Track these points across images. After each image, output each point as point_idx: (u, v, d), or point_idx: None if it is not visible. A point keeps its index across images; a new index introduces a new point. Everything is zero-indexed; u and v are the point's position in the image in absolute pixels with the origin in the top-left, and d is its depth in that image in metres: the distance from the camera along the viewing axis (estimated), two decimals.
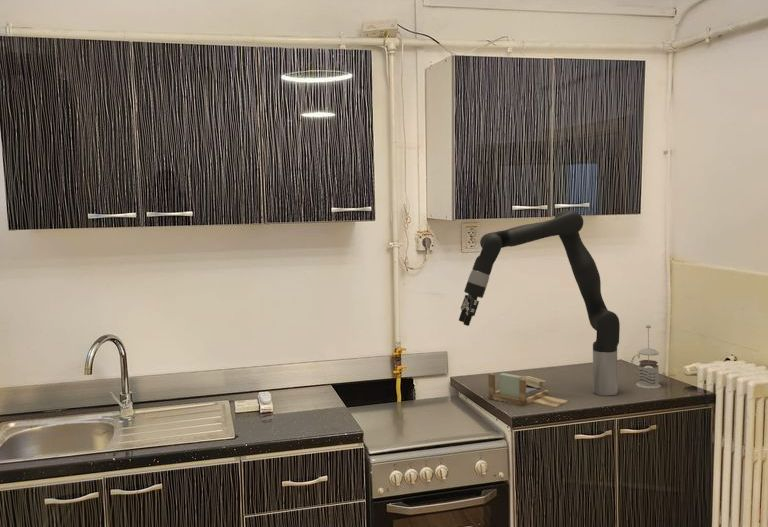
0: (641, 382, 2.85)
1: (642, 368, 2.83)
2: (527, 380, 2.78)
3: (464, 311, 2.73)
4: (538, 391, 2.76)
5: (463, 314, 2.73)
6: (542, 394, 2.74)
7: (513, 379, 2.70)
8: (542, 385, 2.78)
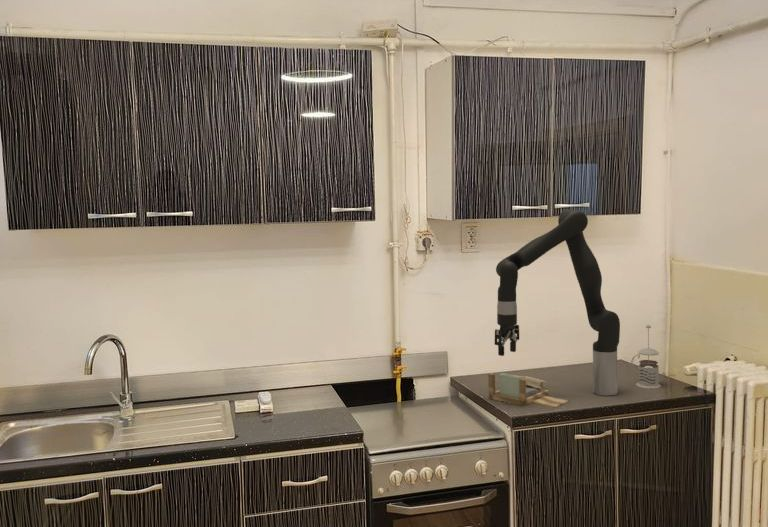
0: (641, 382, 2.85)
1: (642, 368, 2.83)
2: (528, 380, 2.78)
3: (512, 341, 2.74)
4: (537, 391, 2.76)
5: (512, 344, 2.74)
6: (542, 394, 2.74)
7: (513, 379, 2.70)
8: (542, 385, 2.79)
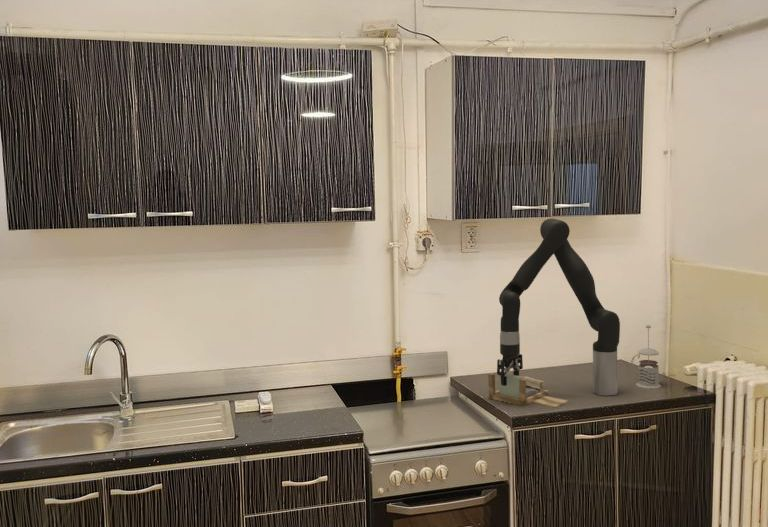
0: (641, 382, 2.85)
1: (642, 368, 2.83)
2: (527, 380, 2.78)
3: (515, 370, 2.74)
4: (537, 391, 2.75)
5: (515, 374, 2.75)
6: (542, 394, 2.74)
7: (513, 379, 2.70)
8: (542, 385, 2.79)
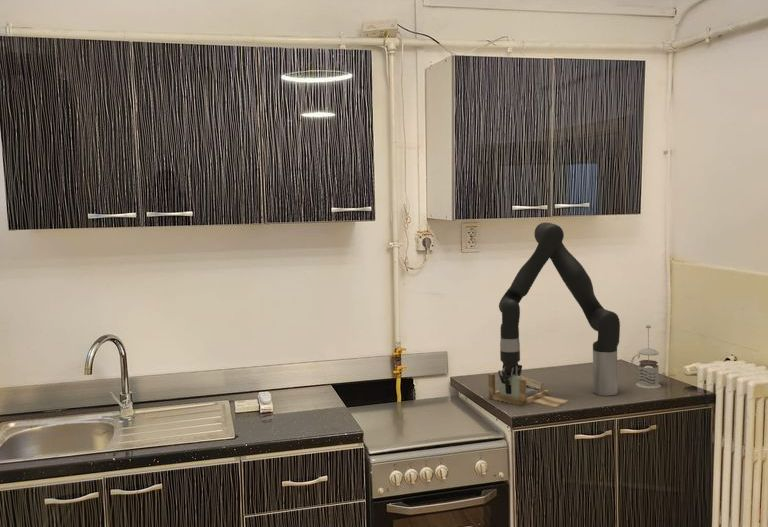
0: (641, 382, 2.85)
1: (642, 368, 2.83)
2: (529, 380, 2.78)
3: None
4: (536, 392, 2.75)
5: None
6: (542, 394, 2.74)
7: (513, 379, 2.69)
8: (542, 387, 2.79)
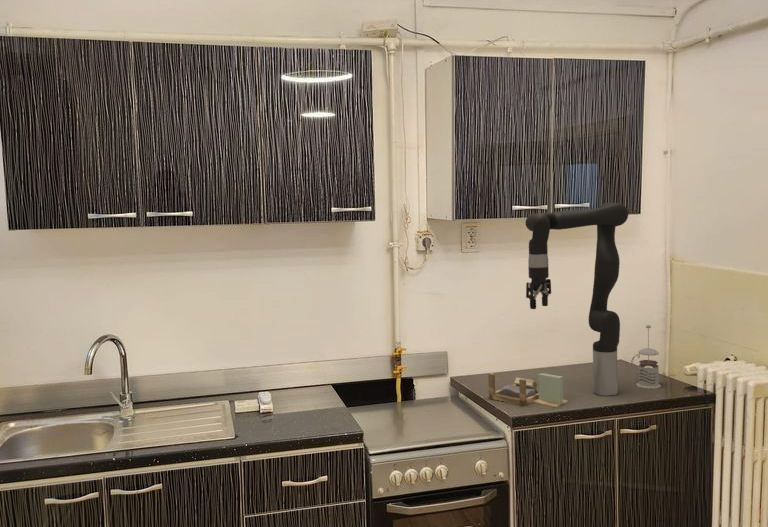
0: (641, 382, 2.85)
1: (642, 368, 2.83)
2: None
3: (544, 295, 2.72)
4: (534, 391, 2.76)
5: (544, 299, 2.72)
6: None
7: (553, 379, 2.65)
8: (536, 388, 2.81)
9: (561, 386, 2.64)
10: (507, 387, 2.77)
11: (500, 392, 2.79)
